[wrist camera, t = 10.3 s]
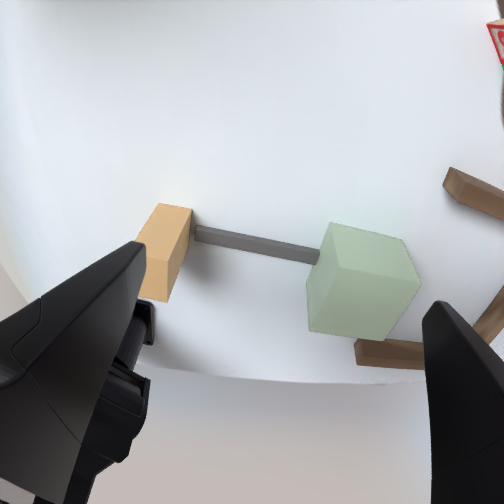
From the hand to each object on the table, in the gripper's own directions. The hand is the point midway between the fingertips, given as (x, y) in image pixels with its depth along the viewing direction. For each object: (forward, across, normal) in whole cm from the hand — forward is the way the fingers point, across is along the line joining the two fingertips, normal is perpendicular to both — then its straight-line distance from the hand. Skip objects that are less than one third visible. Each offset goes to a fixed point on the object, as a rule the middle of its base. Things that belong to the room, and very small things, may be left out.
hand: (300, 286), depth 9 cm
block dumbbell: (+13, -1, +8) cm, 15 cm away
